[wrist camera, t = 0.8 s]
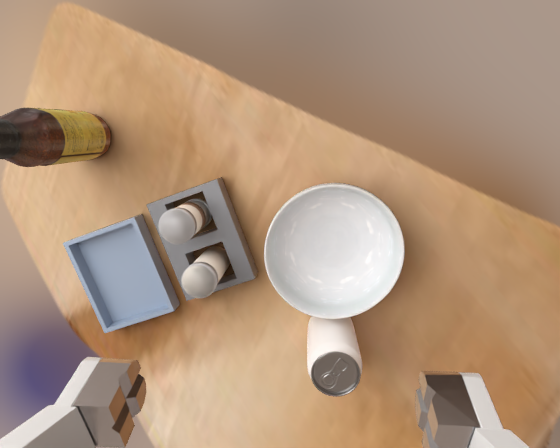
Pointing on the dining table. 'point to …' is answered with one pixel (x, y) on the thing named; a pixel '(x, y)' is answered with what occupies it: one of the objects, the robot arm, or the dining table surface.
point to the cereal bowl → (334, 251)
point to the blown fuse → (184, 221)
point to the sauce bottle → (51, 136)
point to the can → (333, 355)
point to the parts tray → (122, 274)
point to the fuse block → (214, 260)
